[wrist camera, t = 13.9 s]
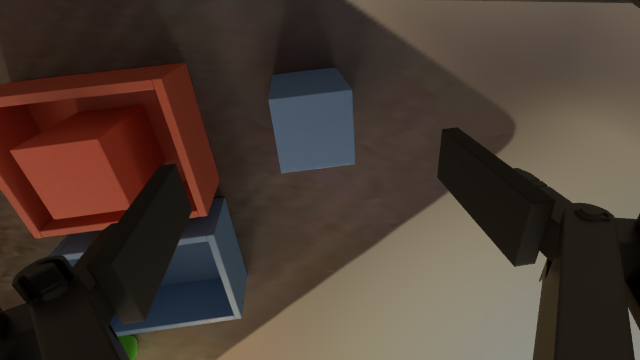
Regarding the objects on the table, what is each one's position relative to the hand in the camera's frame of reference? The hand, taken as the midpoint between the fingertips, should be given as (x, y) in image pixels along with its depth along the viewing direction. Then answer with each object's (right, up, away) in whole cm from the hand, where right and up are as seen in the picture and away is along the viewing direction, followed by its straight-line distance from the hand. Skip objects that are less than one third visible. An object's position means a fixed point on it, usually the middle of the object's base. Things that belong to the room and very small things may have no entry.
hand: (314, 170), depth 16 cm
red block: (-15, +3, +10) cm, 18 cm away
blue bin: (-14, -7, +16) cm, 23 cm away
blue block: (-1, +6, +10) cm, 12 cm away
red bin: (-15, +3, +10) cm, 19 cm away
